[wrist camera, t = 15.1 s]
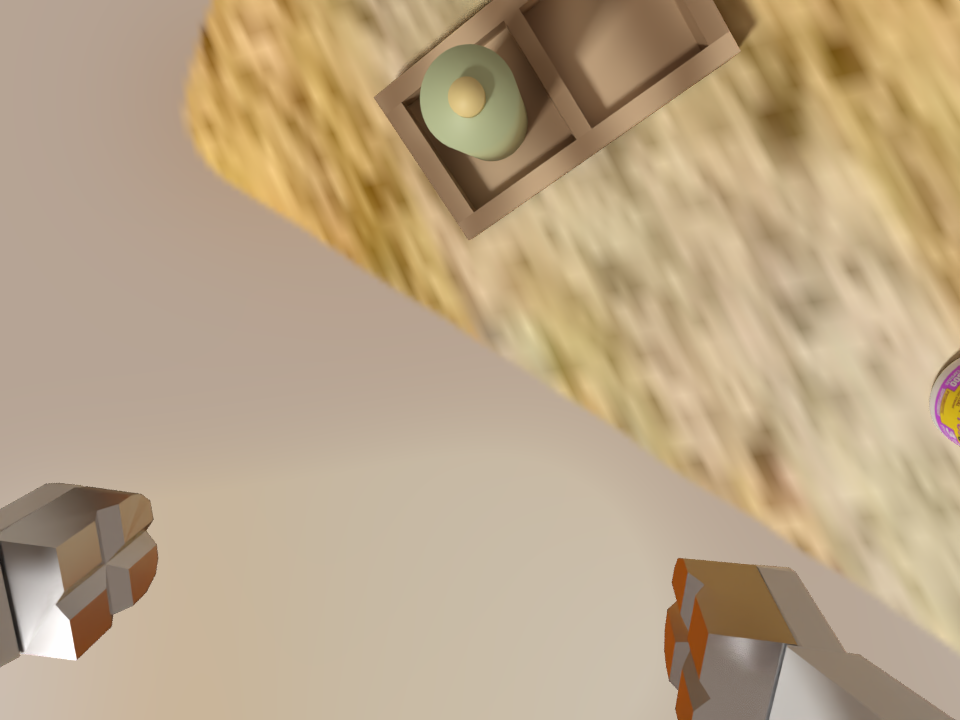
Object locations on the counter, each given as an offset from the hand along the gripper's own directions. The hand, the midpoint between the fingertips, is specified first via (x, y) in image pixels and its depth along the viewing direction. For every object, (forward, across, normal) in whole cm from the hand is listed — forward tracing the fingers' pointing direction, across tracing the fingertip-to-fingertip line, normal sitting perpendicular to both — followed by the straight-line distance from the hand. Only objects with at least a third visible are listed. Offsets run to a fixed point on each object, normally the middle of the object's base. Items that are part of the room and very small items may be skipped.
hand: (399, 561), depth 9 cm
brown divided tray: (+31, -1, -12) cm, 33 cm away
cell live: (+30, +3, -9) cm, 32 cm away
